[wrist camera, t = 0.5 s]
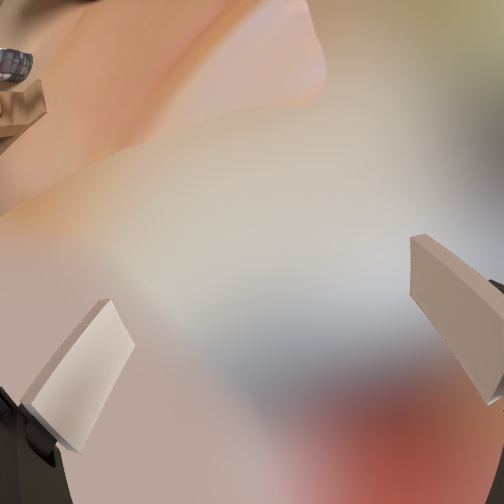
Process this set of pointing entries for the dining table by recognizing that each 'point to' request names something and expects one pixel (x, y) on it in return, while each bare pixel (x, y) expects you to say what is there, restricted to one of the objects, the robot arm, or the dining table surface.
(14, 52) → the pill bottle
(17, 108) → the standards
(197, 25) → the dining table surface
